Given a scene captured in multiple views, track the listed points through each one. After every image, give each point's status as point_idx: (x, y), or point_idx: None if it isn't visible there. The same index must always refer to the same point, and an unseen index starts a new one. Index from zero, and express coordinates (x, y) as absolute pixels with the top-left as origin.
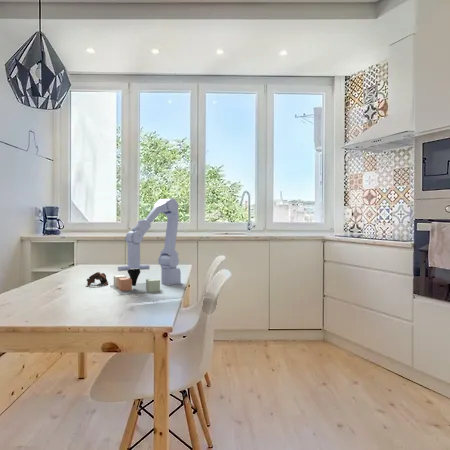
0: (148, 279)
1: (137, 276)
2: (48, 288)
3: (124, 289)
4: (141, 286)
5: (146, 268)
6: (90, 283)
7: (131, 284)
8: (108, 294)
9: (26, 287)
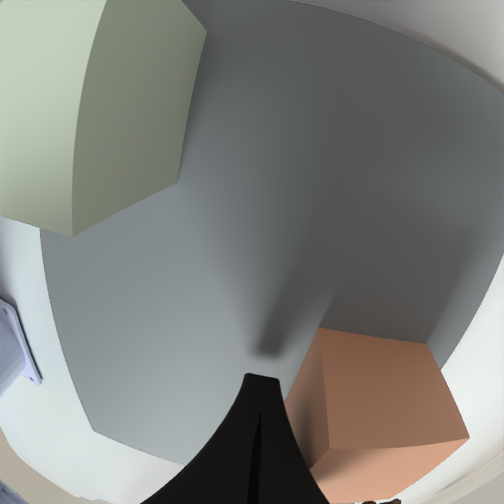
0: (36, 187)
1: (200, 471)
2: (461, 485)
3: (397, 347)
4: (153, 391)
5: (5, 500)
6: (399, 500)
7: (328, 376)
8: (499, 324)
9: (466, 493)
